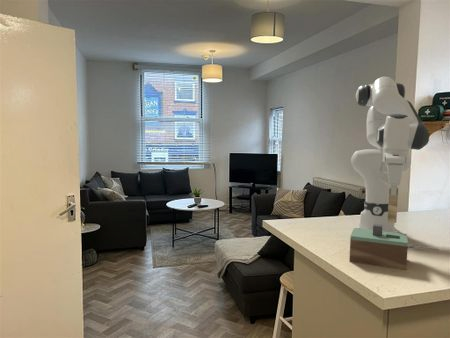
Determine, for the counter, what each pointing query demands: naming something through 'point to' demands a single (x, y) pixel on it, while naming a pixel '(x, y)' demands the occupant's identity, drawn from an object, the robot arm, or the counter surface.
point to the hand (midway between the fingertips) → (393, 194)
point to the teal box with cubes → (379, 236)
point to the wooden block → (392, 206)
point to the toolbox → (378, 254)
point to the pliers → (419, 247)
